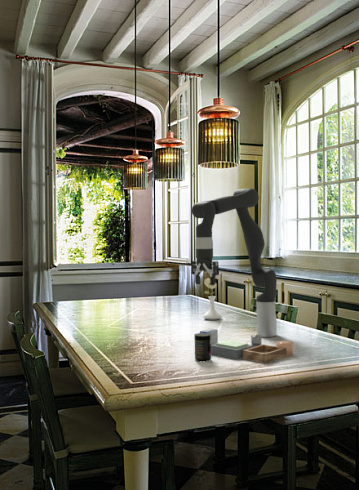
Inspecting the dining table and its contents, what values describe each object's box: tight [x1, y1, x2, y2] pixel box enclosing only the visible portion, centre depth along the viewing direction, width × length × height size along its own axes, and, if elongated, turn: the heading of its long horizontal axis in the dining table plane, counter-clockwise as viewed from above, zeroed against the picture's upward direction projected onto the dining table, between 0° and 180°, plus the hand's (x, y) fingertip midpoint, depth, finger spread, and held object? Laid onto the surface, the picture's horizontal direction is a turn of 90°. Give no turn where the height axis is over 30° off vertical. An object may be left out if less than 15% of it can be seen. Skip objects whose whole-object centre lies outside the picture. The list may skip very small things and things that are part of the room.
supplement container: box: [194, 332, 212, 363], centre depth 207 cm, size 7×7×10 cm
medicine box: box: [199, 328, 219, 345], centre depth 226 cm, size 8×4×9 cm, turn 141°
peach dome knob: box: [275, 340, 294, 357], centre depth 213 cm, size 7×7×5 cm
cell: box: [250, 333, 263, 347], centre depth 221 cm, size 4×4×7 cm
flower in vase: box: [202, 277, 223, 321], centre depth 307 cm, size 13×11×25 cm
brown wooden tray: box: [242, 343, 287, 364], centre depth 208 cm, size 11×15×4 cm
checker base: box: [211, 344, 253, 360], centre depth 216 cm, size 11×14×4 cm
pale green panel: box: [216, 339, 249, 349], centre depth 215 cm, size 8×11×1 cm
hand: (205, 284), depth 221 cm, fingers open, 8 cm apart
